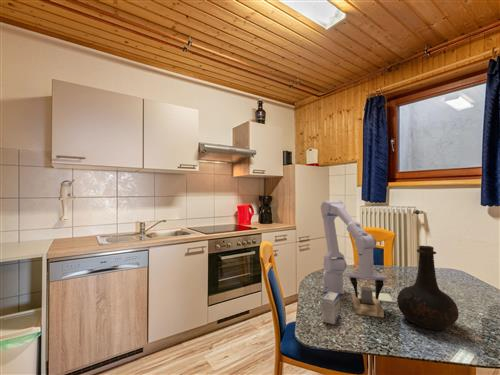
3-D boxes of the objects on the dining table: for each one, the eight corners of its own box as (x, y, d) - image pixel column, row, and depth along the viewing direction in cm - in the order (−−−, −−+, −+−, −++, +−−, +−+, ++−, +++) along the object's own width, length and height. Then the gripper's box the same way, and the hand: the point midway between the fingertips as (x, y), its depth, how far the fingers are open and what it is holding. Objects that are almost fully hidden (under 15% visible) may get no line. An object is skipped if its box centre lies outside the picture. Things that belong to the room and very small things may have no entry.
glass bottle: (387, 312, 98) (386, 241, 99) (430, 311, 99) (428, 241, 100) (422, 338, 80) (419, 251, 81) (473, 336, 81) (470, 250, 82)
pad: (370, 300, 110) (370, 299, 110) (367, 292, 118) (367, 291, 118) (393, 303, 107) (393, 301, 107) (388, 295, 115) (388, 293, 115)
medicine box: (334, 325, 89) (334, 300, 89) (322, 322, 91) (321, 298, 91) (339, 316, 95) (339, 293, 96) (327, 313, 98) (327, 291, 98)
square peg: (362, 309, 101) (361, 289, 101) (360, 305, 105) (360, 286, 105) (372, 310, 100) (372, 290, 100) (371, 306, 104) (370, 287, 104)
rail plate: (355, 313, 97) (355, 307, 97) (352, 299, 110) (352, 293, 111) (383, 317, 94) (383, 310, 94) (377, 302, 107) (377, 296, 107)
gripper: (347, 265, 101) (348, 299, 101) (387, 268, 97) (388, 303, 96) (346, 261, 108) (347, 292, 108) (383, 263, 104) (384, 296, 103)
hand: (366, 297), depth 102 cm, fingers open, 7 cm apart
